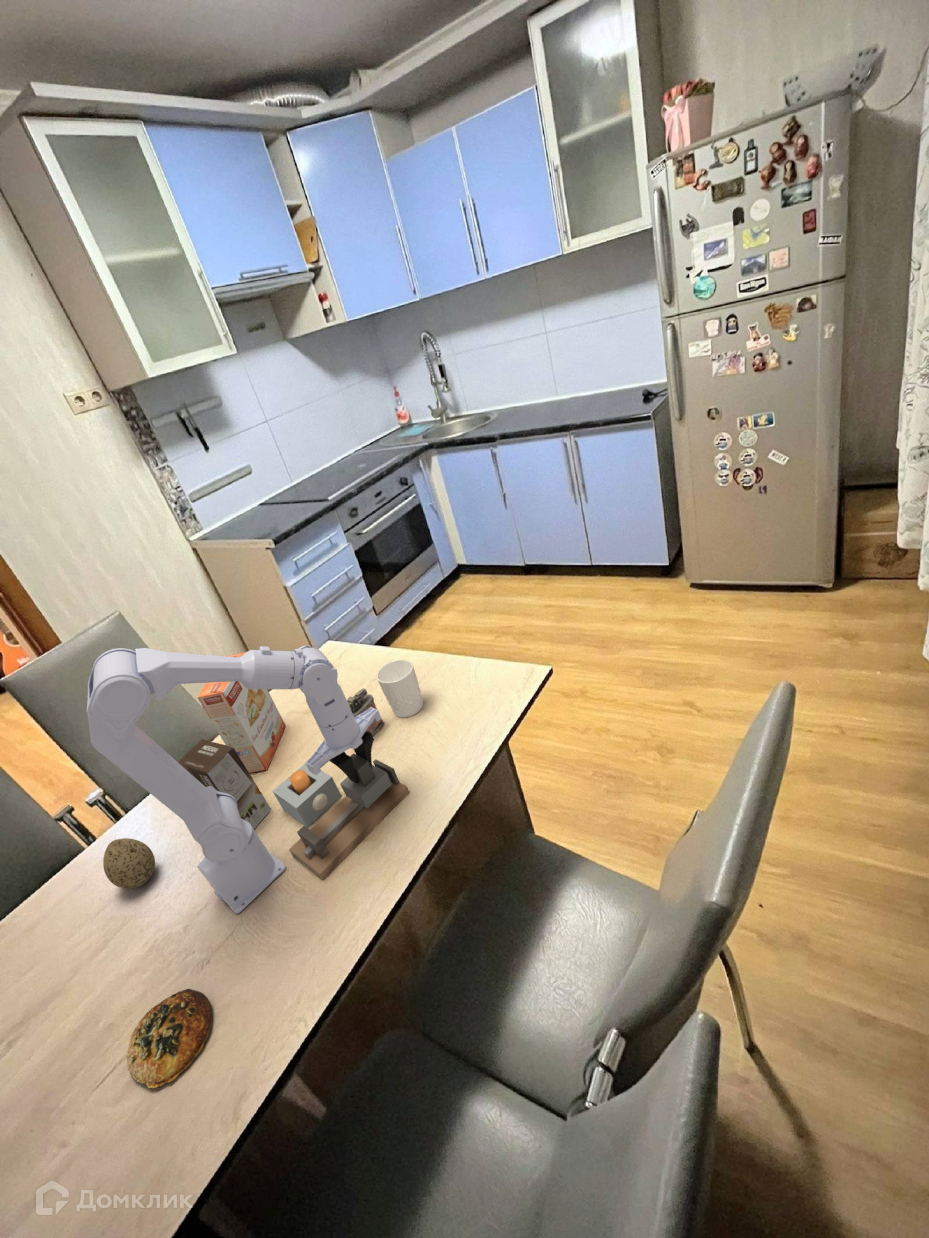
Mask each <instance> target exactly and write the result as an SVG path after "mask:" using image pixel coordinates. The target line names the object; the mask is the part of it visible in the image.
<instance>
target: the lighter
mask: <svg viewBox="0 0 929 1238" xmlns="http://www.w3.org/2000/svg"><path fill="white" fill-rule="evenodd" d="M346 700H347V702H348V704H349V706H350V709H351V711H352V713H353V715H354V717H356V716H358V715H360V714H362V713H363V712H365V711H367V710H368V709H369V708H370V707H372V708H374V709H377V710H378V708H377V706H376V704H375V701H374V700H375V698H374V695H372V694H368V691H367V689H366V688H363V687H362V688H361V689H360V690H358V691H357V692H356V693H355V694H354V695H353V696H349V697H348V698H346ZM384 725H385V722H384V719H382V718H381V719H380V720H379V721H378V722H376V721H374V722H373V723H372V724H371V725H370V726H369V727H368V728H367V732H369V733H371V734H372V735H373V738H375V737H376V735H378V733H379V732H381V730H382V729H383V727H384Z"/></svg>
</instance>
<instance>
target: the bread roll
mask: <svg viewBox="0 0 929 1238" xmlns="http://www.w3.org/2000/svg"><path fill="white" fill-rule="evenodd" d="M212 1010H213V1009H212V1005H211V1002H210V999H208V997H207V996H206V995H205V994H204V992H203V993H202V992H201V991H199V990H196V989H191V988H187V989H184V990H180V991H178V992H175V993H174V994H171V995H170V996H168V997H167V998H165V999H164V1000H162V1001H161V1002H159V1003H157V1004H156V1005H155V1006H153V1007H151V1008H150V1010H148V1011H147V1012H145V1015H143V1016H142V1018H141V1019H140V1020H139V1022H138V1023H137V1025H136V1026H135V1028H134V1030H133V1031H132V1034H131V1036H130V1038H129V1039H130V1040H129V1042H128V1047H127V1053H126V1062H127V1070H128V1072H129V1074H130V1075H132V1078H133V1079H134V1081H135V1080H136V1082H137V1083H139V1084H142V1085H143V1084H145V1085H146V1087H147V1088H148V1089H155V1088H159V1087H161V1086H164V1085H165V1084H167V1083H168V1084H169V1083H171V1082H173V1081H174V1080H176V1079H177V1077H178V1076H179V1075H181V1074H182V1073H183V1072H184V1071H185V1070H186V1069H187V1068H188V1067H189V1066H190V1065H191V1064H192V1063H193V1062H194V1061H195V1059H196V1058H197V1057H198V1055H199V1054H200V1052H201V1051H202V1050H203V1048H204V1047H205V1045H206V1043H207V1040H208V1038H209V1036H210V1033H211V1030H212V1028H213V1027H212V1026H213V1025H212V1024H213V1023H212V1022H213V1020H212V1019H213V1018H212V1017H213V1011H212Z"/></svg>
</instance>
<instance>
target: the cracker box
mask: <svg viewBox="0 0 929 1238" xmlns="http://www.w3.org/2000/svg"><path fill="white" fill-rule="evenodd" d="M246 652H247V651H246ZM246 652H245V651H243V652H240V653H236V654H229V655H225V656H226V657H238V658H239V657H241V656H242V655H244V654H245V653H246ZM197 699H198V701H199V703H200V704H201V706H202V708H203V709H204V711H205V713H206V714H207V716H208V718H209V720H210V721H211V723H212V725H213V726H214V728H215V730H216V731H217V733H218V734H219V736H220V738H221V740H222V741H223V743H224V745H227V746H231V747H234V749H235V751H236V752H237V754H238V756H239V757H240V759H241V760H242V762H243V764H244V765H245V767H246V769H247V770H248V772H249V773H250V774H252V773H256V772H261V771H262V772H263V771H268V768H269V766H270V763H271V761H272V760H273V757H274V755H275V752H276V750H277V747H278V745H279V742H280V740H281V739H282V736H283V733H284V731H285V728H286V723H285V721H284V720H283V716H282V715H281V714H280V711H279V709H278V707H277V706H276V704H275V702H274V700H273V698H272V696H271V694H270V692H269V689H247V688H246V687H245V686H244V685H243V684H242V683H241V682H239V681H233V682H211V683H205V684H204V686H203V687H202V688H201V691H200V692H199V694H198V695H197Z"/></svg>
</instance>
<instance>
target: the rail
mask: <svg viewBox="0 0 929 1238" xmlns="http://www.w3.org/2000/svg"><path fill="white" fill-rule="evenodd" d="M372 764H373V765H374V766H376V767H378V768H379V769H381V770H383V771H385V772H387V774H388V776H389V779H390V781H391V783H392V785H391V786H390V787H389V788H388V789H387V790H386V791H385V792H384V793H383V794H382V795H381V796H380V797H379V798H377V799H376V800H375V801H374V802H373V803H372V804H371V805H370V806H369V807H368V808H365V807H364V806H362V805H360V804H359V803H357V802H356V801H354V800H352V799H351V798H349V797H347V796H346V795H345V796H344V797H343V798H342V799H341V800H340V801H338V802H337V803H336V805H334V807H332V808H331V809H330V810H329V811H328V812H327V813H326V814H325V815H324V816H323V817H322V818H321V819H319V821H317V823H316V824H314V825H313V826H312V827H311V828H308V827H306V826H305V825H302V827H301V828H299V829H298V830H297V831H296V833H297V835H298V836H299V839H298V840H297V841H296V842H295V843H294V844H293V845H292V846H290V848H289V849H288V850H289V852H290V854H291V855H292V856H293V858H295V859H296V860H298V861H299V862H300V863H301V864H303V865H304V866H305V867H306V868H307V869H308V870H310V871H312V873H314V874H315V875H316V876H318V877H319V878H320V879H321V880H322V881H324V880H325V879H326V878H327V877H328V876H329V875H330V874H331V873H332V872H333V871H334V870H335V868H337V867H338V866H339V865H340V864H341V863H342V862H343V860H345V859H346V858H347V857H348V856H349V855H350V854H351V852H353V850H355V848H357V847H358V846H359V844H360V843H361V842H362V841H363V840H365V838H366V837H368V835H370V833H372V831H373V830H374V829H375V828H376V827H377V826H378V825H379V824H380V823H381V822H382V821H383V820H384V819H385V818H386V817H387V816H388V814H390V813H391V812H392V810H394V809H395V807H397V806H398V805H399V804H400V803H401V802H402V801H403V800H404V798H405V797H406V796H407V795H408V794H409V793H410V790H409V788H408V786H407V785H405V784H404V783H401V781H400V780H399V777H398V775H397V772H396V771H395V769H394V767H391V766H389V765H388V764H386V763H383V762H382V761H380V760H378V759H374V760H372Z"/></svg>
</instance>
